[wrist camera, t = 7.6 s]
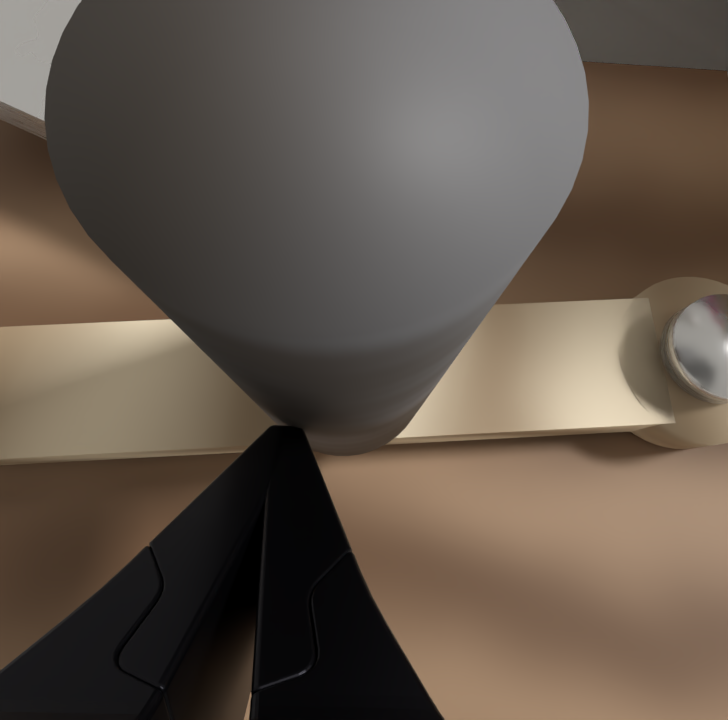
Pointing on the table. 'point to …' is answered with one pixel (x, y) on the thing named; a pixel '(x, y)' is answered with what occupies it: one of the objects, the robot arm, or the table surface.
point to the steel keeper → (26, 111)
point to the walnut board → (451, 455)
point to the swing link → (329, 236)
